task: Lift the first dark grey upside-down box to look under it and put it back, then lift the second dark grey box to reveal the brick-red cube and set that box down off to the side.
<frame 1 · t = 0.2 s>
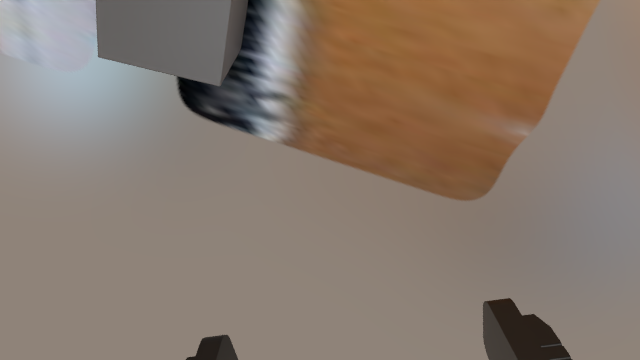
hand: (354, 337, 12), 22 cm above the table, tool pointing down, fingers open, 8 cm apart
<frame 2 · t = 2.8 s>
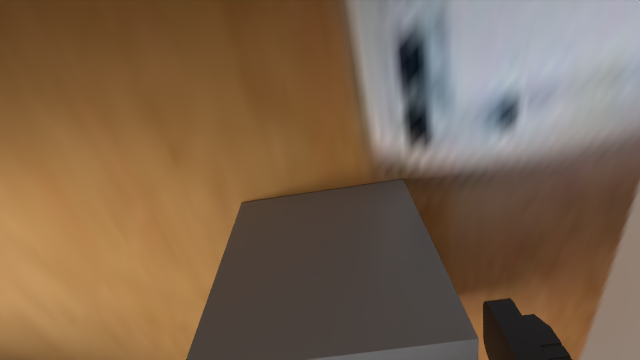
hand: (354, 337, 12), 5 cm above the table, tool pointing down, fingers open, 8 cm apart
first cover: (333, 257, 17), on the table, touching gripper
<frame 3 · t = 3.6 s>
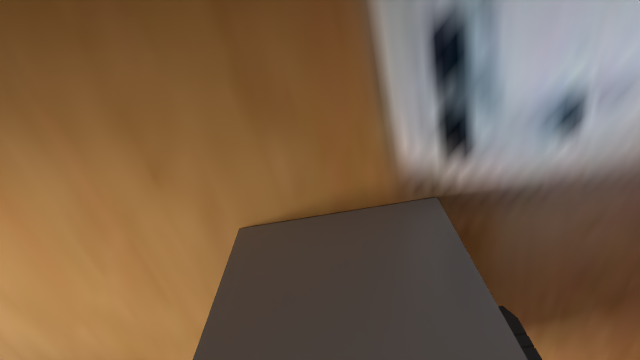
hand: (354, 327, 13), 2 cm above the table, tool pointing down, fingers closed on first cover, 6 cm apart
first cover: (351, 290, 14), on the table, touching gripper
when the fingers open (3 cm above the table, at t = 9.4 s): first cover stays where it is, on the table.
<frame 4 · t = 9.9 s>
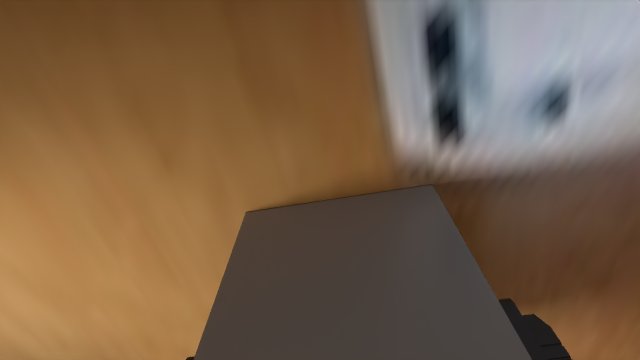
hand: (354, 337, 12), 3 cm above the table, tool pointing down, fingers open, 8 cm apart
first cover: (350, 273, 15), on the table
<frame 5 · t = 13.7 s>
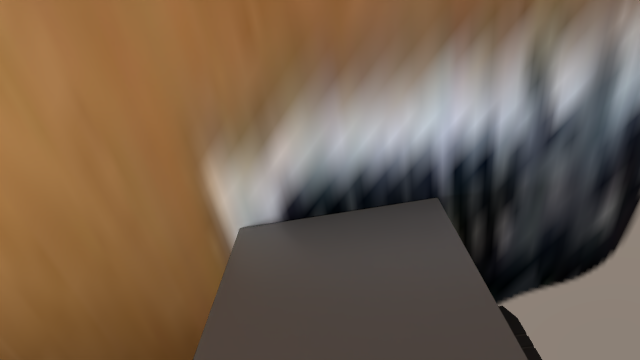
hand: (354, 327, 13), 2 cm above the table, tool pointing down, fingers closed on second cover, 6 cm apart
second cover: (351, 290, 14), on the table, touching gripper
when the fingers open (3 cm above the table, at t = 20.7 s): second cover stays where it is, on the table.
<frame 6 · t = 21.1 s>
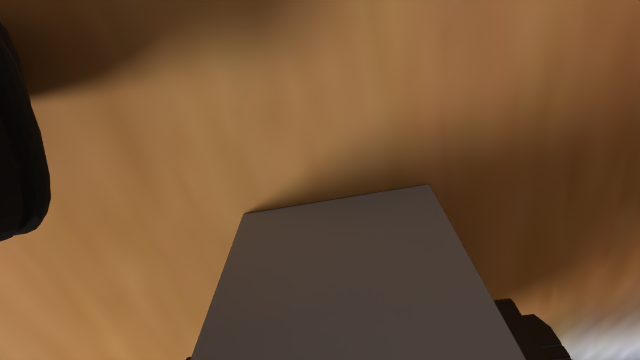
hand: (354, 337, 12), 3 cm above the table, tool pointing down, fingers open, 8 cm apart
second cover: (348, 273, 15), on the table
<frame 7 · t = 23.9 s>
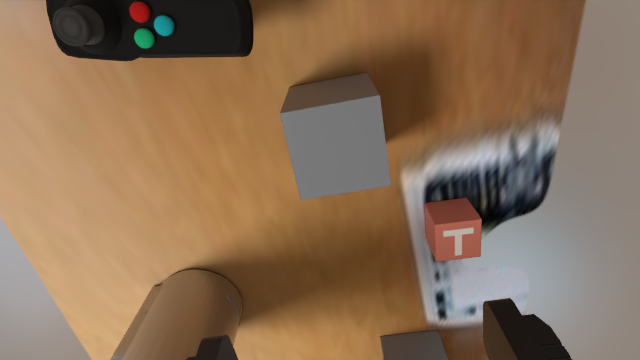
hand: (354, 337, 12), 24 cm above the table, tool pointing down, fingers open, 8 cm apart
controller: (188, 17, 31), on the table
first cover: (410, 353, 46), on the table
cube: (451, 229, 37), on the table
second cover: (334, 117, 34), on the table
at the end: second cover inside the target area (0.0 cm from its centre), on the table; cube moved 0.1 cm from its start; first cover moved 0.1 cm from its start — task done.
